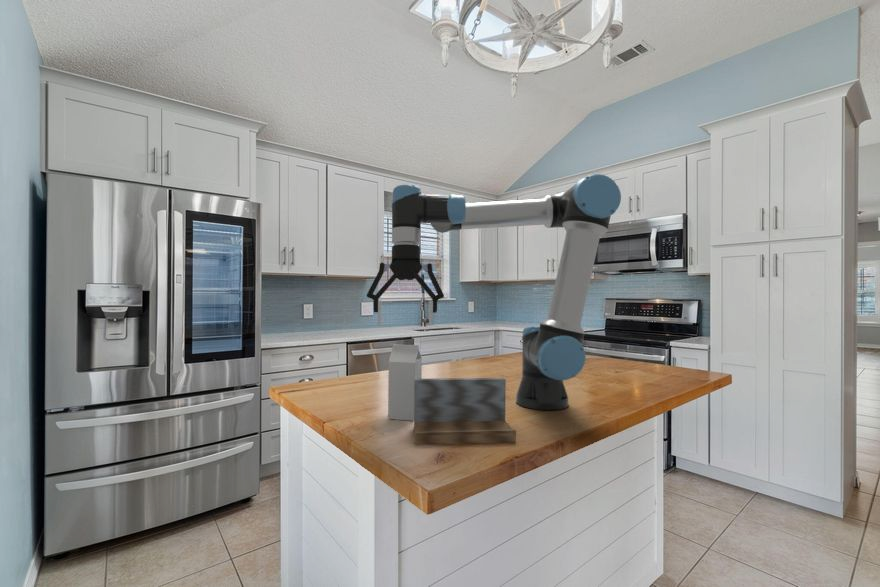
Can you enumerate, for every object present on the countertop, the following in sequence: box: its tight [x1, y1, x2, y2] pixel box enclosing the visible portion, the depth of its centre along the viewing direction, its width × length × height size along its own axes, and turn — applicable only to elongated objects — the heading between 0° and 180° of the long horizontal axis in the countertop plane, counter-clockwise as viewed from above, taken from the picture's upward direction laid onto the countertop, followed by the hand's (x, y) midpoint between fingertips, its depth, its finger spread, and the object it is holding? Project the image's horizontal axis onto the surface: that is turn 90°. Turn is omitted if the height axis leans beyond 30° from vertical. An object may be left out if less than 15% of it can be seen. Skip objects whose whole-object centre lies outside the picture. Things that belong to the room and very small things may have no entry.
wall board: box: [413, 377, 517, 446], centre depth 95 cm, size 22×11×12 cm, turn 96°
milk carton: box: [387, 343, 423, 422], centre depth 109 cm, size 7×7×19 cm
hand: (405, 325), depth 109 cm, fingers open, 13 cm apart
